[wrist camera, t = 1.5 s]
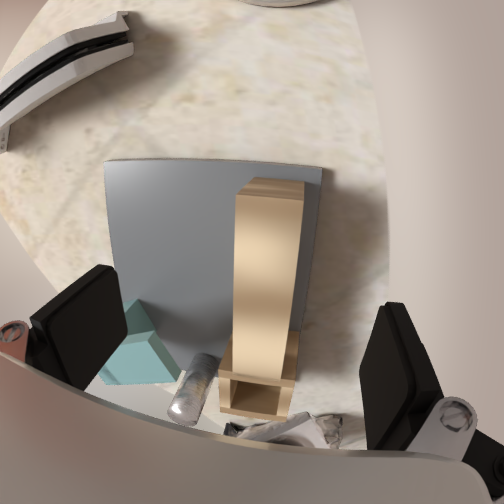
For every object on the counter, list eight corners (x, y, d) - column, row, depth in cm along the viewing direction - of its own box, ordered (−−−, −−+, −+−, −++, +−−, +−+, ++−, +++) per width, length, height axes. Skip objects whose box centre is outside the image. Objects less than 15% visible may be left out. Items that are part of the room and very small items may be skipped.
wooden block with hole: (291, 375, 28) (285, 422, 23) (234, 367, 29) (220, 412, 24) (319, 183, 21) (324, 203, 15) (239, 175, 21) (215, 193, 16)
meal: (239, 436, 37) (218, 513, 25) (226, 420, 35) (200, 502, 24) (345, 422, 32) (345, 512, 20) (338, 404, 31) (338, 502, 19)
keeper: (207, 320, 27) (176, 381, 20) (143, 333, 30) (106, 384, 22) (187, 284, 26) (147, 340, 19) (124, 302, 28) (80, 350, 21)
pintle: (191, 350, 29) (165, 404, 22) (218, 355, 29) (195, 412, 22) (193, 368, 30) (169, 421, 23) (218, 374, 30) (198, 429, 23)
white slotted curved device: (131, 9, 18) (60, 13, 10) (144, 51, 21) (79, 72, 14) (19, 79, 21) (-44, 113, 14) (31, 111, 24) (-28, 151, 17)
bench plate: (111, 159, 24) (103, 161, 23) (321, 167, 21) (322, 169, 20) (138, 351, 33) (134, 357, 32) (290, 380, 30) (289, 388, 29)
